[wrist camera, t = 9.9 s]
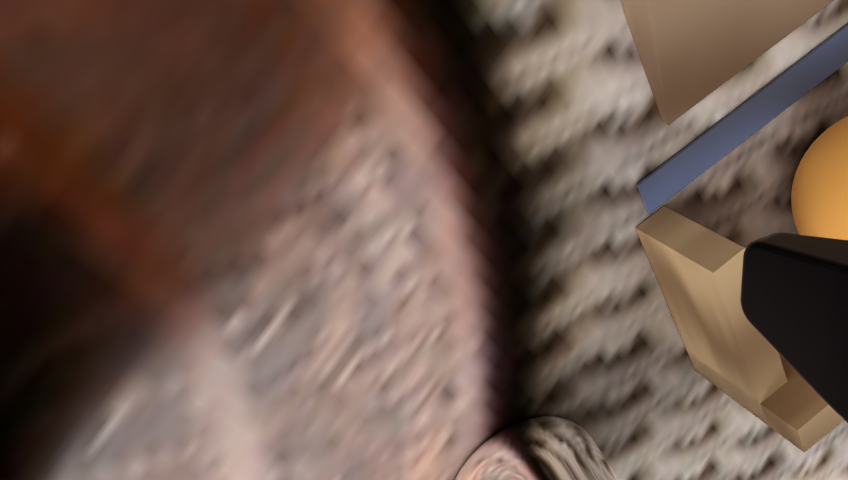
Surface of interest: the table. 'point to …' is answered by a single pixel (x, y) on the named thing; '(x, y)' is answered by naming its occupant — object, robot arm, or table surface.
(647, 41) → the ramp
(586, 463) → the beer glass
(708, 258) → the wooden u-shaped bracket
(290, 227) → the table surface
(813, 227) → the ball
